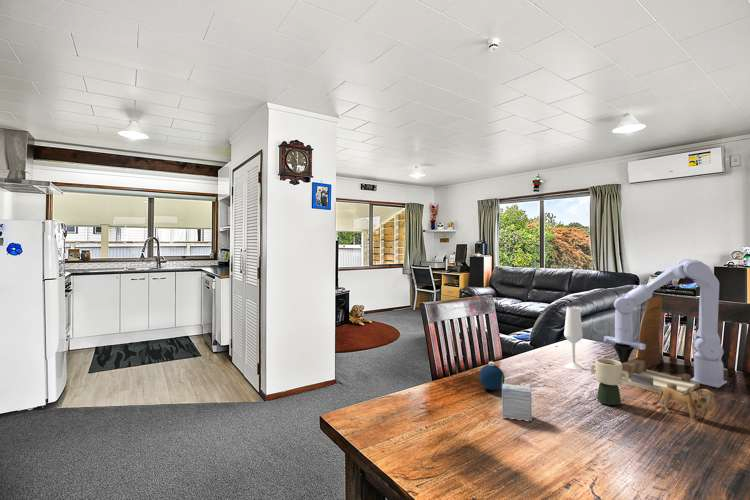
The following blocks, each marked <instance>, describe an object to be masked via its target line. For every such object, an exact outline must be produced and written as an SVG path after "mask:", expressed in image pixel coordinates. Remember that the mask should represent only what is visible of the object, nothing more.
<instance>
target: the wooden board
mask: <svg viewBox="0 0 750 500" xmlns="http://www.w3.org/2000/svg"><path fill="white" fill-rule="evenodd" d="M622 370H623V371H626V372H628V377H631V374H632V373H636V374H639V373H641V372H644V371H646V370H647V368H646V360H645V359H641V358H636V357H635V358H633V359H630V360H628V362H625V363H622ZM622 376H625V374H622Z"/></svg>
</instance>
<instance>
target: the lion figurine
mask: <svg viewBox="0 0 750 500" xmlns="http://www.w3.org/2000/svg"><path fill="white" fill-rule="evenodd" d="M714 395H715V394H714V393H712V391H710V390H709V389H706V388H701V389H697V390H693V391H690V392H687V393H684V394H683V393H680V392H678V391H676V390H674V389H672V388H664V389H662V391H661V392H660V393H659V395H658V399H657V400H656V401H654V402H652V403H651V405H653V406H655V405H658V404H659V402H660V406H661V407H663V408H664V410H665V412H666V413H667V414H670V413H672V411H671V409H669V407H668V406H669V403H670V401H674V403H676V404H677V405H679V406H681V407H684V408H688V410H689V417H690V420H691V422H698V419H700V417H699V416H698V415H697V412H704V411H705V410H707V409H710V408H711V409H712V407H714V406H715V404H716V402H715V397H714ZM662 397H663V398H662ZM660 400H661V401H660Z"/></svg>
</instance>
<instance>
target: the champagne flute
mask: <svg viewBox="0 0 750 500" xmlns="http://www.w3.org/2000/svg"><path fill="white" fill-rule="evenodd" d="M581 315H582V314H581V308H580V307H576V306H575V307H574V306H567V307H566V310H565V319H564V320H565V322H564V331H563V335H564V338H565V339H566V340H567V341H568V342H569V343H571V362H569V363H566V364H565V365H564V368H566V369H568V370H575V371H581V370H583V366H581V365H579V364H578V363H576V344H577V343H578V342H580V341H581V340H582V339H583V337H584V335H583V326H582V316H581Z"/></svg>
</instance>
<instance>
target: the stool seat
mask: <svg viewBox="0 0 750 500" xmlns="http://www.w3.org/2000/svg"><path fill="white" fill-rule="evenodd" d="M691 376H692V375H690V374H688V373H681V377H679V376H675V375H670V374H667V373H661V372H657V371H653V370H649V369H646V371H644V372H641V373H639V374H636V373H632V374H631V377H628V382H623V381H622V383H621V384H625V385H628V386H632V387H636V388H640V389H643V390H647V391H651V392H655V393H658V394H660V392H661V391H662V389H664V388H672V389H674V390H676V391H678V392H680V393H683V394H684V393H687V392H690V391H691V392H692V391H695V390H696V389H698V388H700V383H699V382H696V381H692V380H691V379H692V377H691ZM622 378H624V379H625V376H622Z"/></svg>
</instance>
